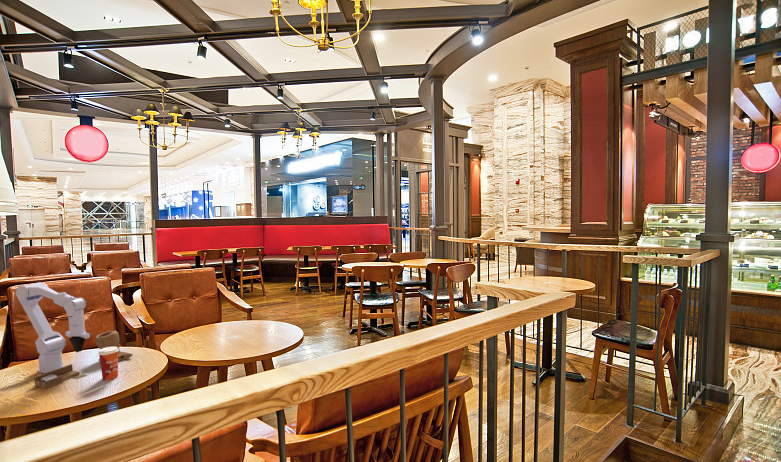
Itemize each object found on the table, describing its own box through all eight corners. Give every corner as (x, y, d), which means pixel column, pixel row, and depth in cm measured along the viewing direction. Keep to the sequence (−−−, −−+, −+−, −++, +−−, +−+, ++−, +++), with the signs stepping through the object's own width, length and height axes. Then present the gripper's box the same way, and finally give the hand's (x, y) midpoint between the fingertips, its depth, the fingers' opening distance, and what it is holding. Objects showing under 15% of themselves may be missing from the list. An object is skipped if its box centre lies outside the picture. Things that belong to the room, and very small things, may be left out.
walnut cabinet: (35, 387, 170) (34, 376, 170) (73, 373, 185) (72, 363, 184) (49, 391, 167) (48, 379, 167) (87, 376, 181) (86, 366, 181)
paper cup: (109, 383, 174) (107, 352, 173) (95, 381, 175) (93, 351, 174) (125, 375, 181) (123, 346, 180) (111, 374, 183) (109, 345, 182)
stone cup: (92, 362, 199) (90, 333, 198) (117, 354, 210) (115, 326, 209) (109, 366, 192) (107, 337, 191) (133, 358, 203) (132, 330, 202)
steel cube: (52, 383, 175) (41, 386, 171) (51, 374, 174) (40, 378, 171) (57, 384, 173) (46, 388, 169) (56, 375, 173) (46, 379, 169)
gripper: (57, 324, 185) (59, 352, 185) (77, 327, 180) (79, 356, 180) (73, 320, 191) (75, 347, 192) (93, 323, 186) (95, 350, 187)
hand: (78, 351), depth 187 cm, fingers closed
